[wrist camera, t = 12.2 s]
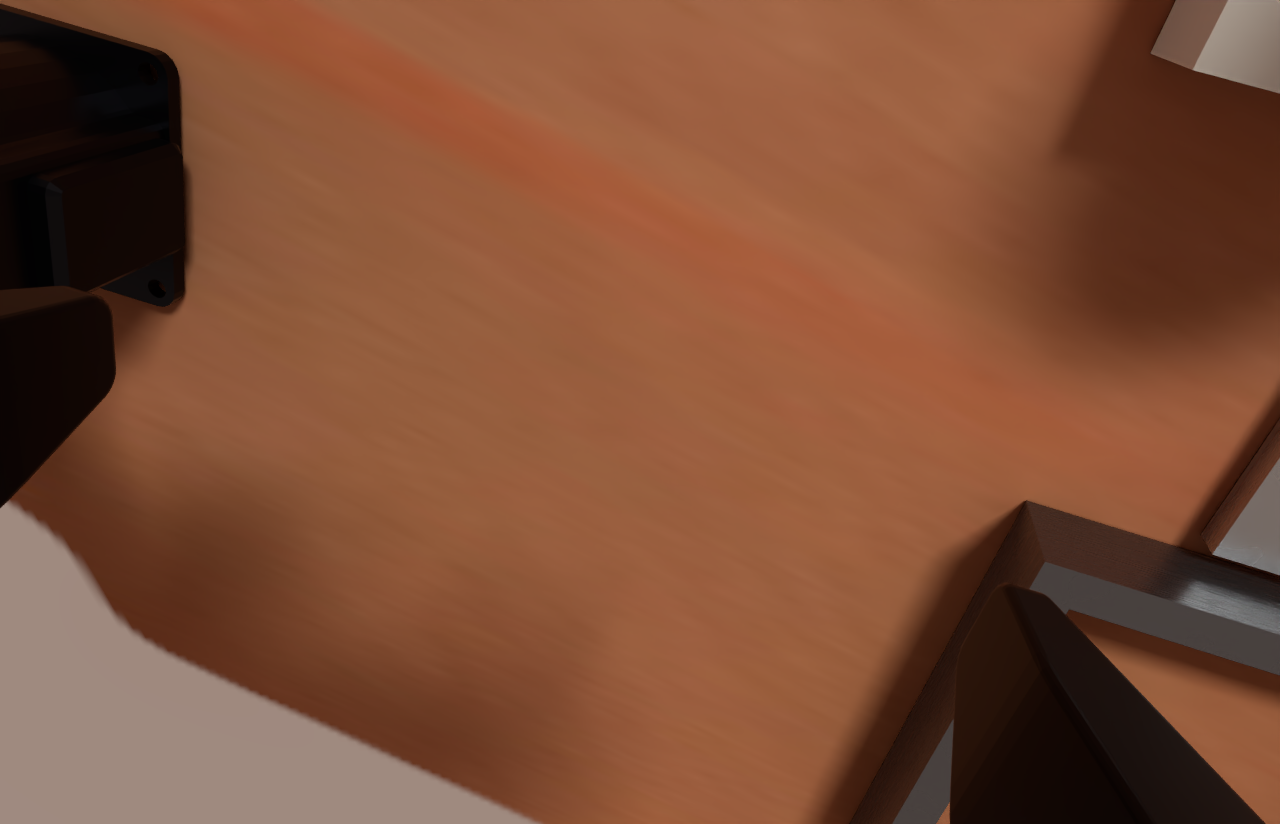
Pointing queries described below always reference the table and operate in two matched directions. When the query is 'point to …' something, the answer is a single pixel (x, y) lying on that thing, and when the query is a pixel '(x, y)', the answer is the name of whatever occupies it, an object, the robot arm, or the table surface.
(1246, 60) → the collar
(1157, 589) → the collar
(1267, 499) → the rail strip
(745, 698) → the table surface
